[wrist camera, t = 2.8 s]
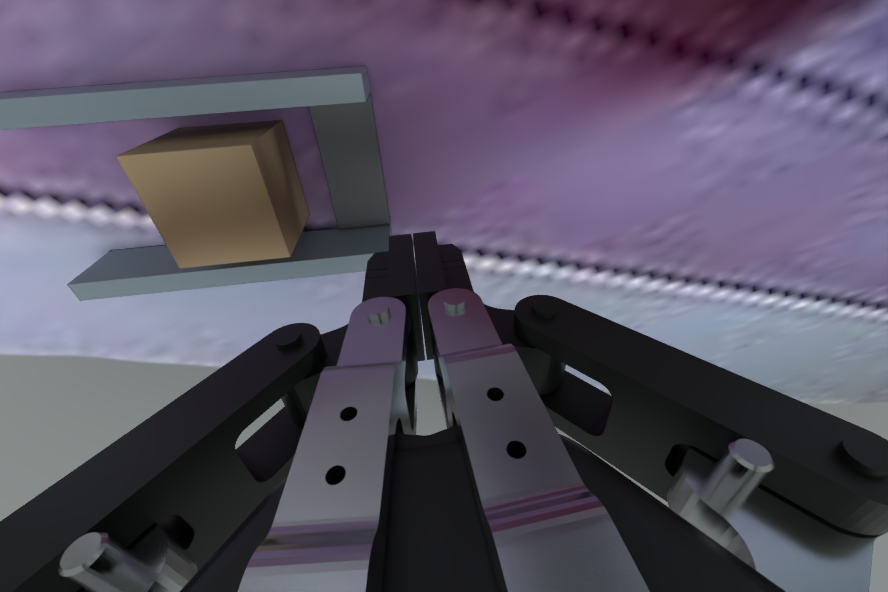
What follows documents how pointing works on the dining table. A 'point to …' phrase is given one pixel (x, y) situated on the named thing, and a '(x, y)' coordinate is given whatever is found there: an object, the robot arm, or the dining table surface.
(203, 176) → the block
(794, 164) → the dining table surface
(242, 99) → the channel
